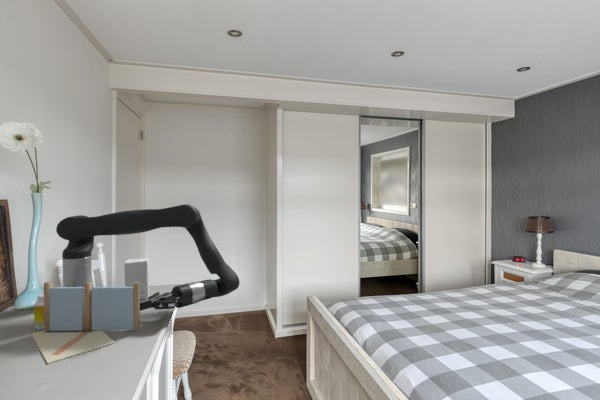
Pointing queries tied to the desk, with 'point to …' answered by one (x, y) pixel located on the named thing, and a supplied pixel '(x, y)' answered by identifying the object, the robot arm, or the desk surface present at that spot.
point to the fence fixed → (67, 308)
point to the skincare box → (138, 275)
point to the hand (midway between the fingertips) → (137, 307)
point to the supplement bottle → (39, 312)
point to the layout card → (69, 343)
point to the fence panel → (116, 308)
